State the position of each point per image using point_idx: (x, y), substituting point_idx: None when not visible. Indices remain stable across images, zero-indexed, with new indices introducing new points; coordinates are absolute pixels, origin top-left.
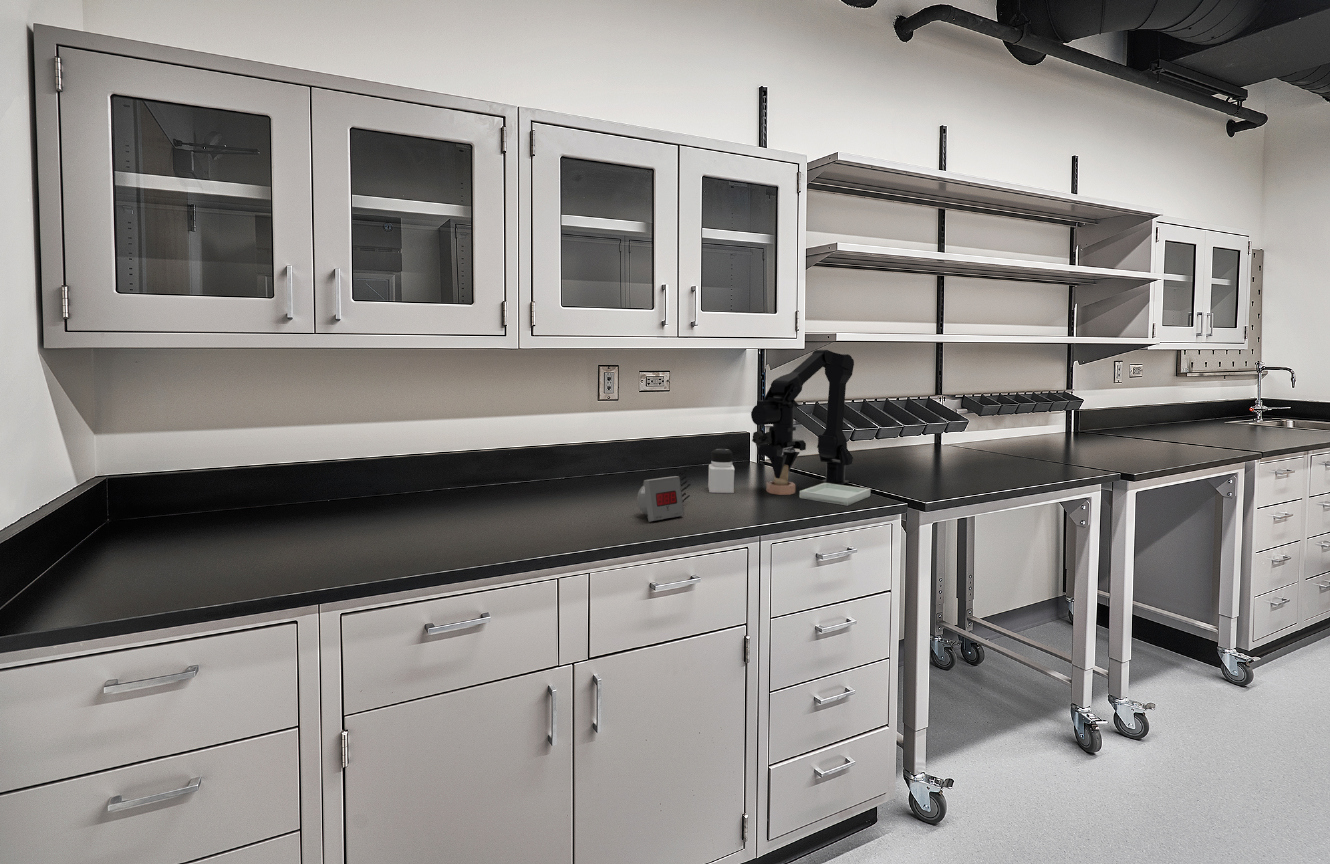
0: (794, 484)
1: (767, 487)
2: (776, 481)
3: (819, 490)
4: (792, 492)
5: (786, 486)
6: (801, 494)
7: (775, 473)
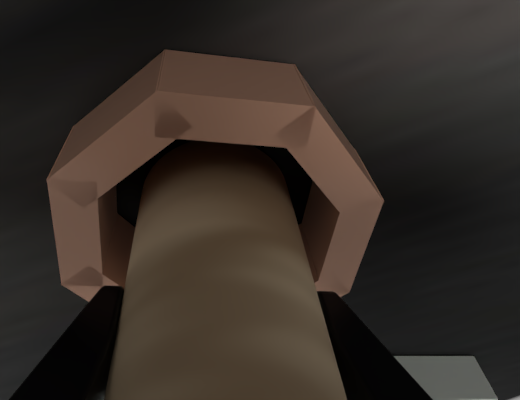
0: None
1: (126, 95)
2: (132, 249)
3: None
4: None
5: None
6: None
7: (64, 344)
